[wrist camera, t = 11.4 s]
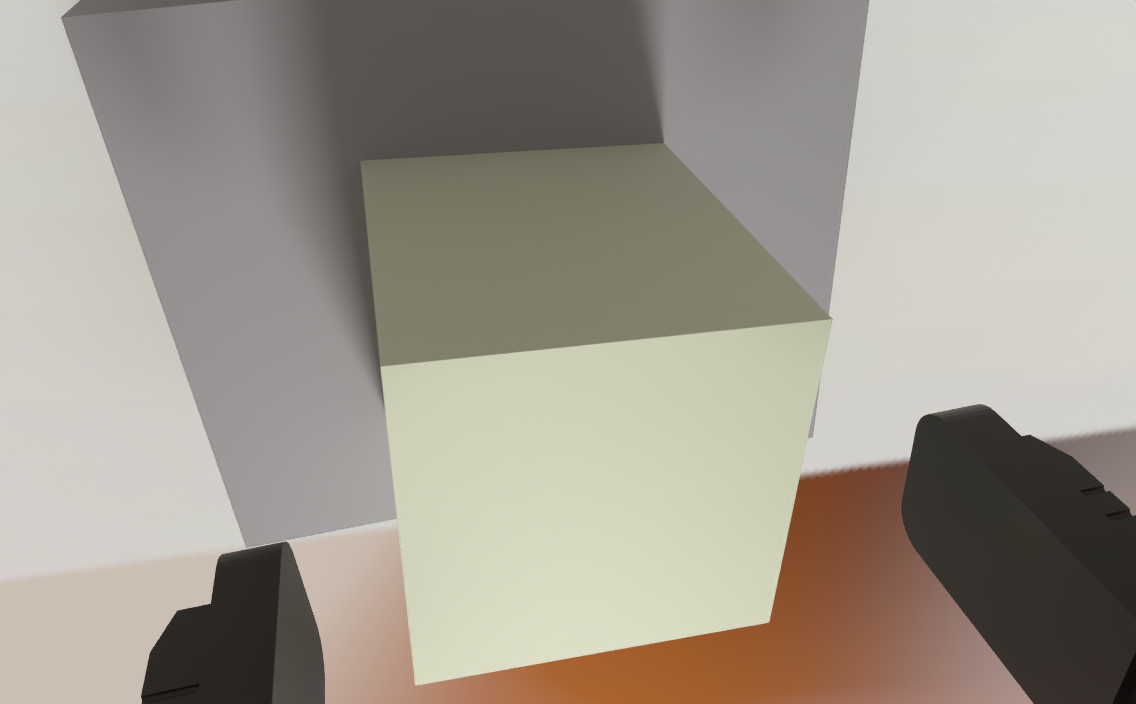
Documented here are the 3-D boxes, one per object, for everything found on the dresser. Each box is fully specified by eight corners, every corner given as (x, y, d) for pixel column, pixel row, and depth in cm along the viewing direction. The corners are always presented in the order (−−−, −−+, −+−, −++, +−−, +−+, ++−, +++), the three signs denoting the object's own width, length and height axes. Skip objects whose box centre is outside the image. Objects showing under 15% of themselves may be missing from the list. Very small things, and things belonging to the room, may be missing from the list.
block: (663, 142, 15) (833, 319, 10) (644, 387, 18) (769, 621, 13) (359, 160, 14) (379, 366, 9) (388, 417, 17) (415, 685, 12)
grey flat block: (793, -85, 16) (877, -63, 14) (757, 363, 22) (812, 437, 19) (105, -22, 14) (61, 17, 12) (256, 453, 20) (246, 547, 17)
